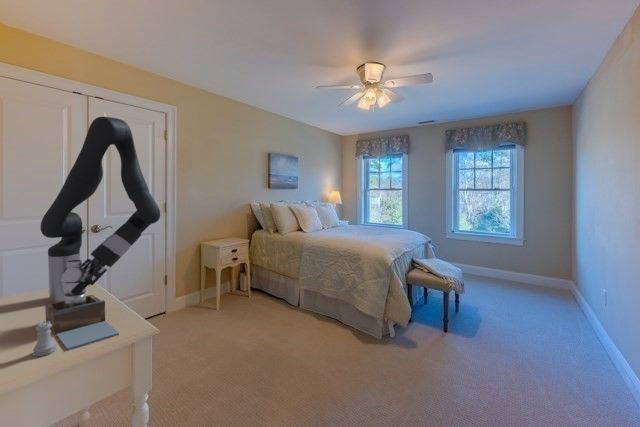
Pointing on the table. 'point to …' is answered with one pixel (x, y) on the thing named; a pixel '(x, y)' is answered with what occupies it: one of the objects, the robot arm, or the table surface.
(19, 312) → the table surface
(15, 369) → the table surface
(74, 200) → the robot arm
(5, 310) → the table surface
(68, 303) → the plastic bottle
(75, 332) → the mat
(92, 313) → the holder
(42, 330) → the rook chess piece
